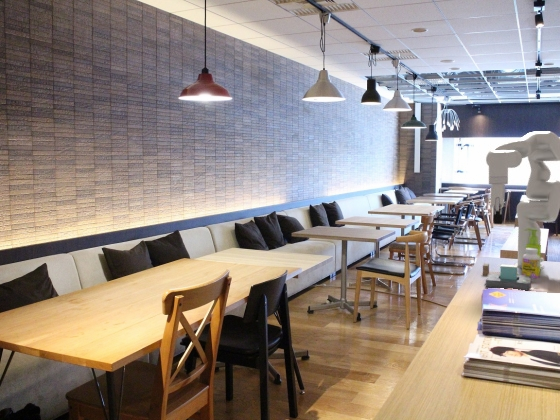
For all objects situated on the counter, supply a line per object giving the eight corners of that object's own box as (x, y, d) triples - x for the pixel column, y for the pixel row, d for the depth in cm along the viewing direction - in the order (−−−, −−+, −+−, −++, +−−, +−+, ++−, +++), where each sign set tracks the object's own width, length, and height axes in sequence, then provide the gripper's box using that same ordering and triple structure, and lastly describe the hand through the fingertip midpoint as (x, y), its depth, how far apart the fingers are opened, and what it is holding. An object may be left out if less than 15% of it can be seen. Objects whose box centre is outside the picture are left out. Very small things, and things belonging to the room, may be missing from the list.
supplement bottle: (519, 278, 231) (520, 249, 230) (525, 276, 236) (525, 247, 235) (536, 281, 227) (537, 250, 226) (541, 278, 232) (542, 248, 230)
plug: (500, 283, 223) (501, 264, 222) (516, 285, 220) (517, 265, 220) (500, 285, 219) (500, 266, 219) (516, 287, 217) (516, 267, 216)
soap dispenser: (526, 271, 245) (527, 227, 243) (542, 274, 240) (543, 229, 238) (520, 273, 241) (522, 229, 239) (537, 276, 236) (538, 230, 234)
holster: (483, 273, 243) (483, 262, 243) (512, 275, 238) (512, 264, 237) (480, 277, 234) (481, 266, 234) (510, 280, 229) (511, 268, 228)
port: (489, 279, 230) (489, 272, 230) (531, 283, 223) (531, 275, 222) (485, 287, 217) (485, 279, 217) (529, 291, 210) (529, 282, 210)
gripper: (490, 179, 238) (489, 220, 240) (487, 182, 224) (487, 226, 227) (508, 179, 235) (508, 221, 237) (507, 182, 221) (506, 226, 224)
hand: (498, 223), depth 232 cm, fingers closed
